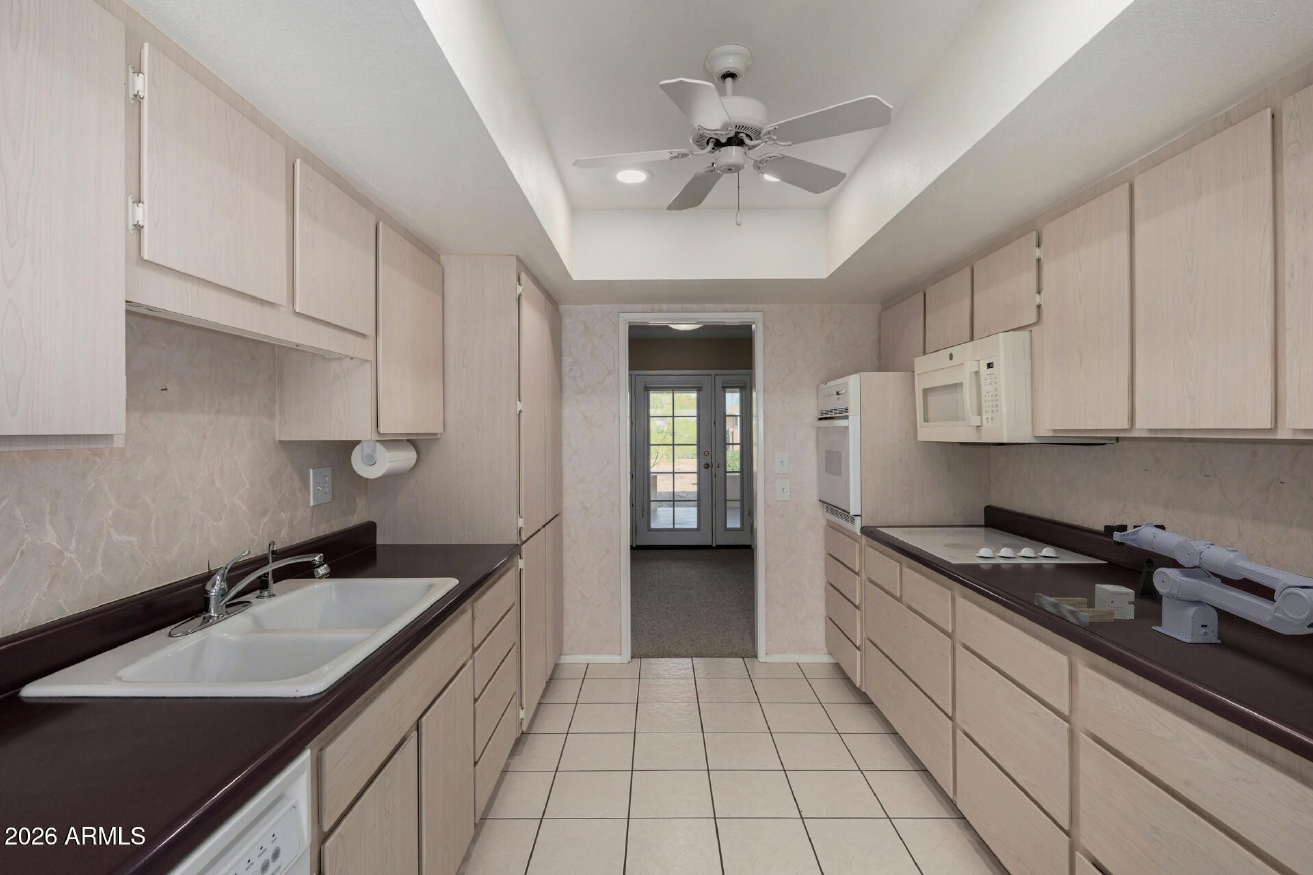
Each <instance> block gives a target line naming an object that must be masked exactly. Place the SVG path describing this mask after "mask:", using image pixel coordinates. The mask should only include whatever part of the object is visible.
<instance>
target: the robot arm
mask: <svg viewBox="0 0 1313 875" xmlns="http://www.w3.org/2000/svg"><path fill="white" fill-rule="evenodd" d="M1128 526H1129V525H1128V524H1121V523H1120V524H1115V525H1114V524H1113V525H1112V524H1104V525H1103V533H1104V534H1105V535H1107V536H1108V537H1109V538H1110V539H1111V540H1112V541H1113V544H1114V545H1115V546H1118V547H1125V545H1126V544H1129V545H1130V546H1131V545H1132V546H1133V547H1136V548H1140V549H1143V550H1146V551H1147V550H1148V551H1150V552H1154V553H1157V554H1160V555H1162V556H1165V557H1167V558H1170V559H1174V560H1176V561H1177V562H1178V563H1179V564H1181V565H1182V566H1183V567H1184V568H1172V569H1168V568H1159V569H1157V570H1156V571H1155V573H1154V575H1153V582H1154V585H1155V587H1156V589H1157V590H1158V591H1159V594H1161V595H1163V599H1162V607H1161V608H1162V609H1161V611H1162V612H1161V613H1162V614H1161V626H1155V625H1154V626H1151V629H1152V630H1154V631H1158V633H1159V632H1160V633H1162V634H1164V635H1166V636H1169V637H1172V638H1174V639H1177V640H1178V641H1182V642H1184V643H1188V644H1190V643H1191V644H1192V643H1193V644H1194V643H1199V644H1203V643H1204V644H1207V643H1208V644H1210V643H1211V644H1221V643H1222V641H1221V640H1220V639H1218V621H1219V620H1218V613H1217V611H1216V609H1215V608H1218V609H1220V610H1223V611H1225V612H1228V613H1230V614H1233V615H1235V616H1237V617H1240V618H1243V619H1244V620H1248V621H1250V622H1252V623H1255V624H1258V625H1260V626H1262V627H1265V628H1267V629H1270V630H1273V631H1274V632H1277V633H1279V634H1283V635H1307V634H1308V635H1309V634H1313V578H1312V577H1307V576H1304V575H1299V574H1297V573H1296V574H1295V573H1293V572H1289V571H1285V570H1281V569H1277V568H1274V567H1269V566H1267V565H1263V564H1259V563H1256V562H1252V560H1251V559H1250V557H1249V556H1248V555H1247V554H1244V553H1241V552H1239V550H1238V548H1234V547H1222V546H1219V545H1217V544H1216V543H1215V542H1213V540H1212V539H1211V540H1210V539H1203V540H1197V539H1193V538H1189V537H1187V536H1185V535H1182V534H1181V535H1180V534H1178V533H1175V532H1171V531H1168V530H1166V526H1165V525H1164V524H1154V522H1152V521H1144V522H1143V523H1142V525H1140V524H1138V525H1137V524H1135V525H1134V524H1133V525H1132V526H1133V527H1132V529H1130V530H1128V529H1129V528H1128ZM1125 543H1126V544H1125ZM1193 567H1195V568H1193ZM1211 572H1212V573H1214V574H1217V575H1220V576H1222V577H1226V578H1229V579H1232V580H1242V579H1244V578H1246V579H1247V580H1250V581H1253V582H1254V583H1259V584H1261V585H1263V586H1266V587H1268V588H1271V589H1273V590H1275V592H1274V600H1275V602H1274V601H1272V600H1269V599H1266V598H1264V597H1260V596H1259V595H1255V594H1252V593H1250V592H1247V591H1244V590H1241V589H1239V588H1236V587H1233V586H1230V585H1227V584H1225V583H1222V580H1221V578H1218V577H1216V576H1214V575H1213V574H1211ZM1212 606H1213V607H1212ZM1214 607H1215V608H1214Z"/></svg>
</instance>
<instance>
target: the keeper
mask: <svg viewBox="0 0 1313 875" xmlns="http://www.w3.org/2000/svg"><path fill="white" fill-rule="evenodd" d="M1034 605H1035V606H1038V607H1040V608H1042V609H1044V610H1046V611H1048V612H1050V613H1052V614H1055V615H1057V616H1059V617H1061V618H1063V619H1065V620H1067V621H1069V622H1071V623H1074V624H1075V625H1078V626H1080V627H1081V628H1085V627H1086V628H1090V623H1092V622H1093V623H1114V622H1115V619H1114V610H1113V609H1108V608H1095V607H1094V608H1092V607H1091V608H1090V607H1089V608H1088V598H1085V597H1052V596H1051V597H1050V596H1048V595H1046V594H1043V593H1037V592H1036V593H1034Z"/></svg>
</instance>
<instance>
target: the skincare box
mask: <svg viewBox="0 0 1313 875" xmlns="http://www.w3.org/2000/svg"><path fill="white" fill-rule="evenodd" d="M1094 586H1095V587H1094V589H1095V590H1094V591H1095V592H1094V593H1095V595H1094V608H1108V609H1113V610H1114V620H1115V619H1117V620H1129V619H1133V620H1134V619H1135V597H1134V596H1135V592H1134V591H1135V590H1133V589H1131V588H1127V587H1125V586H1123V585H1117V584H1116V585H1115V584H1100V583H1099V584H1098V583H1096V584H1095V585H1094Z"/></svg>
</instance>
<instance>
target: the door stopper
mask: <svg viewBox="0 0 1313 875" xmlns="http://www.w3.org/2000/svg"><path fill="white" fill-rule="evenodd" d="M1143 564H1144V567H1143V570H1142V572H1141V574H1140V578H1139V580H1138V582H1137V584H1136V586H1135V590H1133V591H1134V592H1135V596H1134V598H1138V599H1142V600H1145V601H1148V600H1149V602H1151V603H1155V604H1158V605H1161V604H1162V599H1163V595H1161V594H1159V591H1158V590H1157V589H1156V587H1155V585H1154V582H1153V575H1154V573H1155V571H1156V570H1157V569H1159V568H1168V569H1173V564H1174V563H1173V560H1172V558H1171V557H1167V556H1165V557H1164V556H1161V557H1160V556H1159V557H1147V558H1145V559H1144V561H1143Z"/></svg>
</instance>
